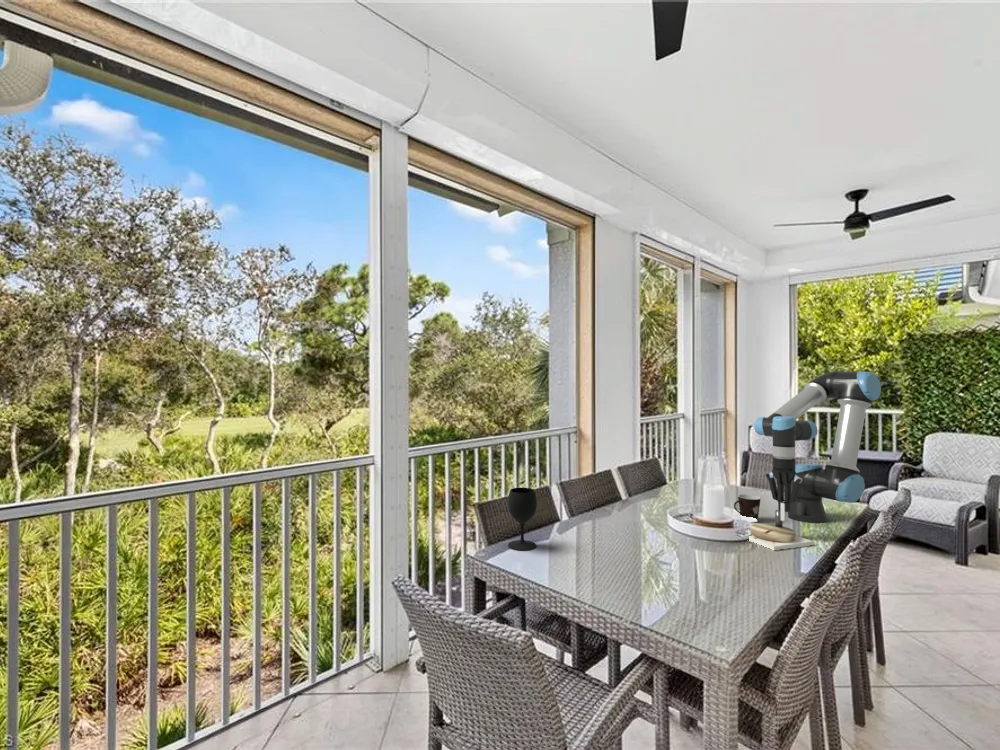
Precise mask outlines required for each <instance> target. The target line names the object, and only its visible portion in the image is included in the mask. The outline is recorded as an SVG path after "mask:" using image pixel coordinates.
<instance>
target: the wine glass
mask: <svg viewBox="0 0 1000 750" xmlns="http://www.w3.org/2000/svg"><path fill="white" fill-rule="evenodd" d="M507 498H508V499H507V508H508V512H509V514H510V516H511V517H512V518H513V520H515V521H516V522H518V523H519V526H520V539H517V540H512V541H510V542H508V544H507V548H509V549H511V550H513V551H518V552H528V551H533V550H535V549H536V548H537V546H538V545H537V543H535V542H534V541H531V540H527V539H525V538H524V535H525V533H524V531H525V529H524V528H525V524H526V523H527V522H529V521H530V520H531V519H532V518H533V517H534V515H535V514H536V511H537V507H538V499H537V494H536V491H535V489H533V488H531V487H514V488H511V489H510V490H509V494H508V497H507Z"/></svg>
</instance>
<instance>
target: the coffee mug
mask: <svg viewBox="0 0 1000 750" xmlns="http://www.w3.org/2000/svg"><path fill="white" fill-rule="evenodd" d="M761 500H762V499H761V497H760V496H758V495H753V494H737V501H735V502H734V504H733V508H734V509H735V511H736V512H737V513H739V516H740V515H742V516H746V517H753V518H756V519H757V520H759V516H760V515H759V513H760V505H761ZM737 503H738V507H739V510H738V508H737V506H736V505H737Z"/></svg>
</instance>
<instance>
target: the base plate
mask: <svg viewBox="0 0 1000 750" xmlns="http://www.w3.org/2000/svg"><path fill="white" fill-rule="evenodd" d="M748 542H750V543H753V542H754V543H753V544H756V543H757V544H756V545H758V544H759V545H758V546H761V545H762V546H761V547H763V546H764V548H765V547H767V548H766V549H768V548H770V549H772V550H771V551H773V550H777V551H781V550H780V549H784V550H789V549H788V548H791V549H795V548H796V547H798V548H805V547H811V546H810V545H812V546H813V544H814V543H813V540H810V539H806V538H804V537H802V536H799V535H796V539H795V540H794V541H790V542H778V541H770V540H765V539H761V538H758V537H755V536H753V535H752V536H749V541H748ZM804 546H805V547H804ZM770 549H769V550H770Z"/></svg>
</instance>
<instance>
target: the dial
mask: <svg viewBox="0 0 1000 750" xmlns="http://www.w3.org/2000/svg"><path fill="white" fill-rule="evenodd" d="M774 512H775V513H774V514H775V516H774V517H775V519H774V520H775V523H752V524H751V525H749V529H750V531H751V534H752V535H753V536H755V537H758V538H761V539H765V540H770V541H778V542H790V541H794V540H795V539H796V536H797V533H796V530H794V529H792V528H790V527H787V526H784V525H783V522H784V521H782V520H781V511H779V509H775V511H774Z"/></svg>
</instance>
